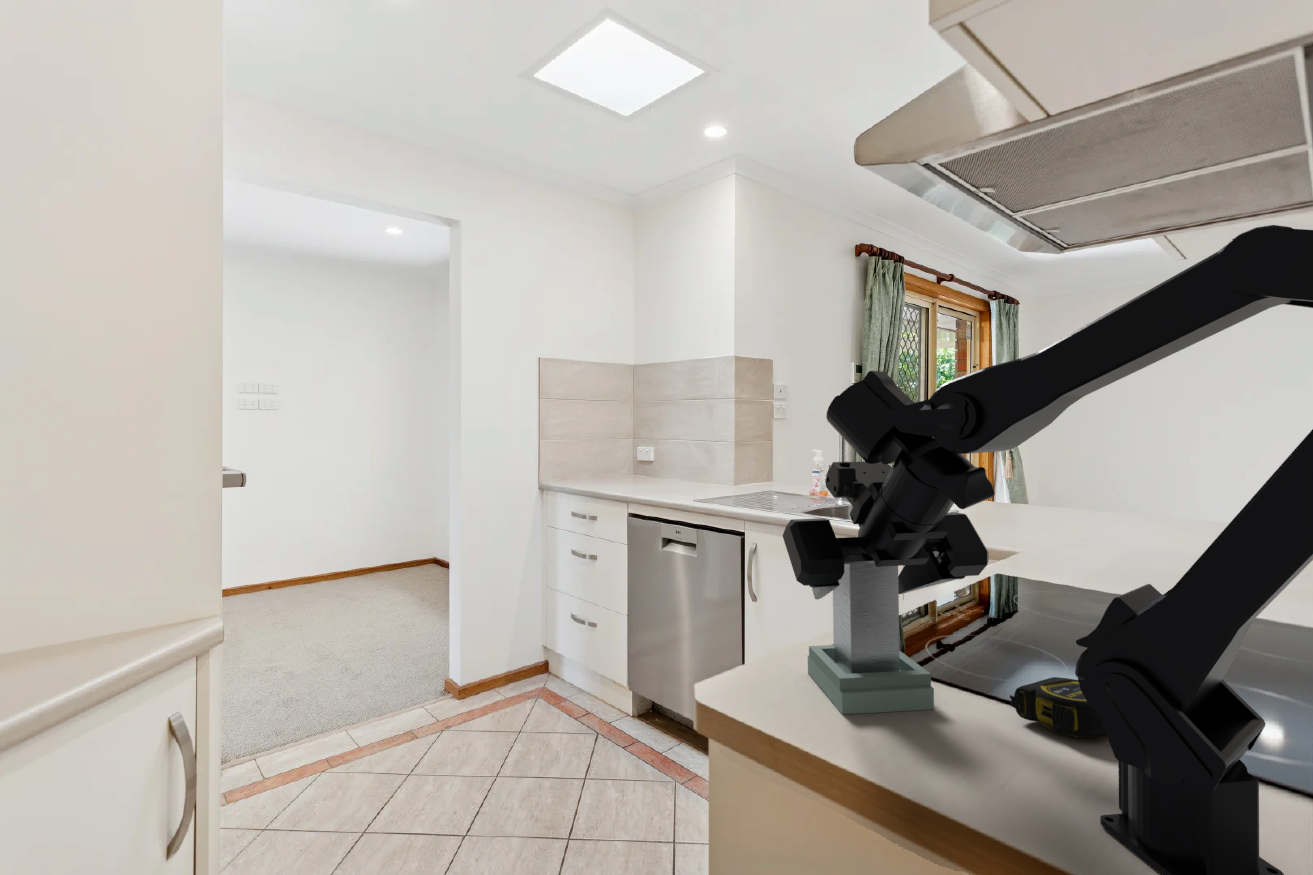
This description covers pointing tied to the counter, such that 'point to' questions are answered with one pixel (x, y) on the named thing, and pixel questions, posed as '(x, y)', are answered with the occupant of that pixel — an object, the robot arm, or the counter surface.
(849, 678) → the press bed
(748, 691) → the counter surface
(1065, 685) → the tape measure
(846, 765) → the counter surface
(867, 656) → the housing
